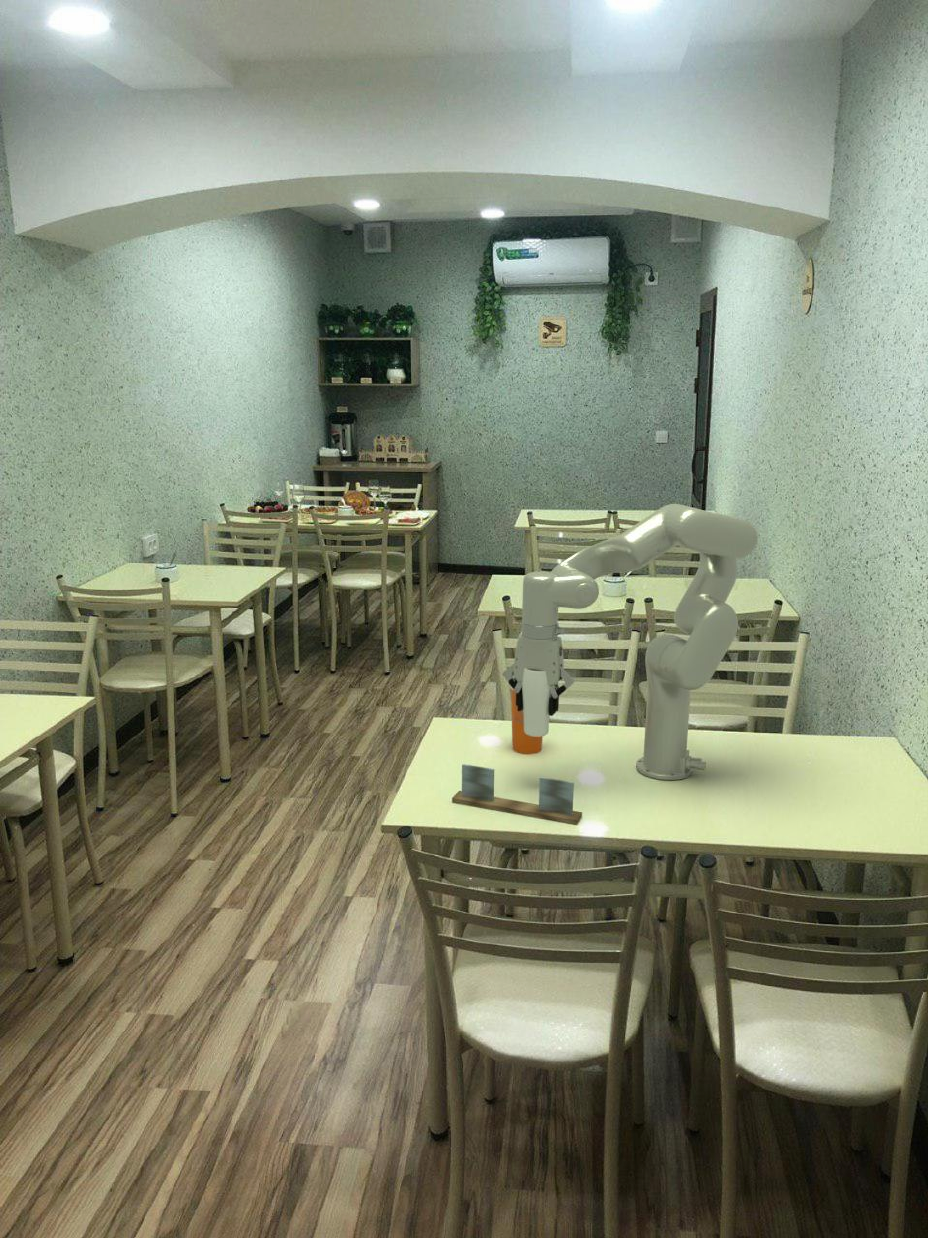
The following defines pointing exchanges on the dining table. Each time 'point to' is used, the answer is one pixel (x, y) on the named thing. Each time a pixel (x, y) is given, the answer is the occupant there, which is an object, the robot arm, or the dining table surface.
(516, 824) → the dining table surface
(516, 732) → the shaker bottle
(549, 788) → the stand
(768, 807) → the dining table surface
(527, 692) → the drinking glass
